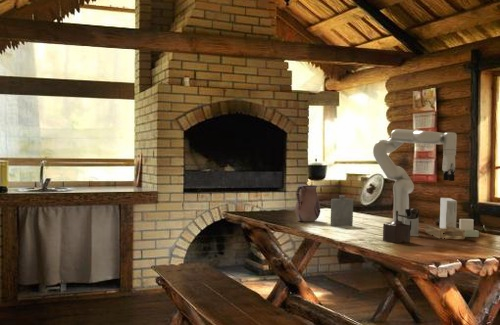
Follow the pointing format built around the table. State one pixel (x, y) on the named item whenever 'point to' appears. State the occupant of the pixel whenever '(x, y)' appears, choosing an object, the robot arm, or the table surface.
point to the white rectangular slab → (466, 224)
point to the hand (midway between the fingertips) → (448, 180)
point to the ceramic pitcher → (307, 203)
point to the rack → (439, 232)
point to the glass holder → (412, 222)
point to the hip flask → (341, 212)
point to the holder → (472, 233)
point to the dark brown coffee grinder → (398, 229)
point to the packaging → (448, 212)
